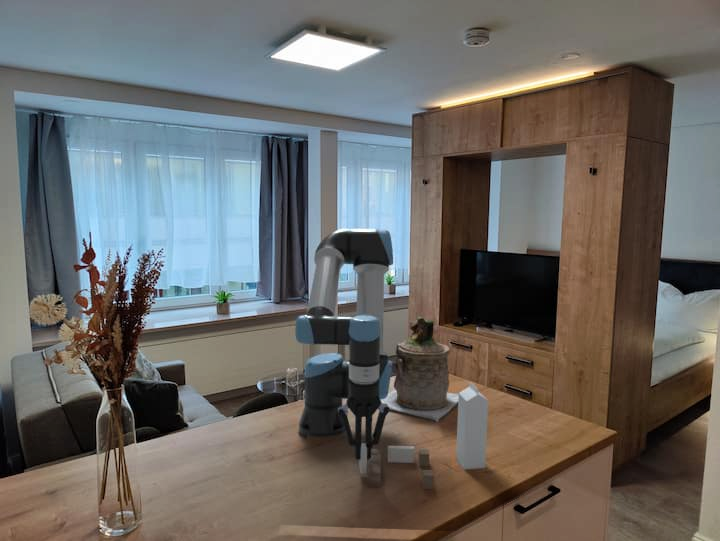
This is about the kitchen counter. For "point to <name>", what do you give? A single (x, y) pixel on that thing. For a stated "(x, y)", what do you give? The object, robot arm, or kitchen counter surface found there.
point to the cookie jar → (421, 375)
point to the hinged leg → (374, 469)
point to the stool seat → (407, 456)
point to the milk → (472, 428)
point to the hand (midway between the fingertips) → (362, 470)
